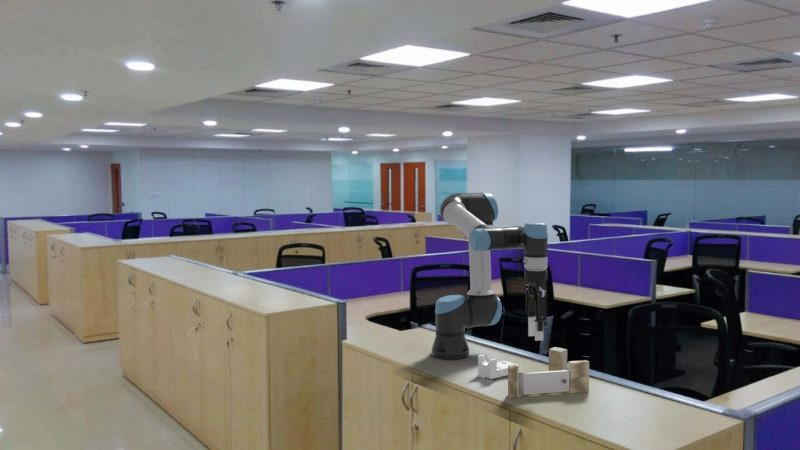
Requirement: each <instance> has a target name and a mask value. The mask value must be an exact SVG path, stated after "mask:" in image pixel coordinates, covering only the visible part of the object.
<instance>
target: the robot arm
mask: <svg viewBox="0 0 800 450" xmlns="http://www.w3.org/2000/svg"><path fill="white" fill-rule="evenodd" d="M439 213H440V216H441V217H440V218H442V220H443V221H444V223H447V224H448V225H450V226H454V227H456V228H457V229H458V230H459V231H460V232H461V233H462V234H464V235H465V236H466V237H468V259H469V283H470V285H469V288H470V289H469V290H468V291H467V292H466V298H465V296H464V295H461V294H449V295H445V296H441V297H439V298H438V299H437V300H436V301H435V309H434V313H435V337H434V341H433V344H432V347H431V356H432V357H434V358H437V359H441V360H448V361H449V360H461V359H462V360H463V359H465V358H468V357H469V356H470V347H469V345H468V341H467V338H466V330H465V329H467V328H474V327H475V328H476V327H489V326H494V325H496V324H497V323H499V321H500V320H501V316H502V313H503V312H502V310H503V309H502V308H503V306H502V305H503V304H502V302H501V299H500V298H499V296H497V293H496V291H495V290H494V289H493V287H492V264H491V262H492V261H491V259H492V258H491V251H495V250H496V251H498V250H500V251H501V250H515V249H516V250H523V252H524V253H523V254H524V255H523V257H524V258H523V260H522V262H523V264H524V265H523V266H524V271H523V275H524V277H523V278H524V279H523V280H524V281H525V282H527V283H528V284H524V289H525V305H524V306H525V314H526V315H527V317H528V318H527V324H528V325H527V326H528V327H527V331H528V333H527V336H528V337H534V341H535V342H536V341H537V342H538V341H541V342H543V341H544V322H545V321H547V319H548V317H547V316H548V315H547V313H548V311H547V306H548V305H547V296H548V291H547V290H544V284H543V283H546V282H547V281H548V270H547V269H548V261H549V260H548V237H549V233H548V225H547V223H545V222H526V223H525V224H524V226H522V225H513V226H509V227H507V226H506V227H493V226H494V221H496V220H497V219H498V215H499V206H498V203H497V200H496V198H495V196H494V195H493V194H492V193H489V192H481V191H480V192H463V193H461V192H459V193H457V192H455V193H453V194H450V195H448V196H446V197H444V199H443V201H442V202H441V203H440V207H439Z"/></svg>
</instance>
